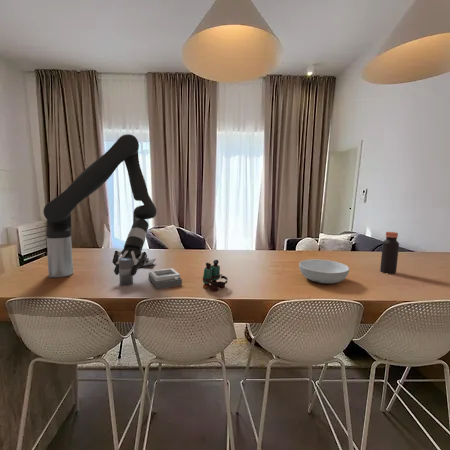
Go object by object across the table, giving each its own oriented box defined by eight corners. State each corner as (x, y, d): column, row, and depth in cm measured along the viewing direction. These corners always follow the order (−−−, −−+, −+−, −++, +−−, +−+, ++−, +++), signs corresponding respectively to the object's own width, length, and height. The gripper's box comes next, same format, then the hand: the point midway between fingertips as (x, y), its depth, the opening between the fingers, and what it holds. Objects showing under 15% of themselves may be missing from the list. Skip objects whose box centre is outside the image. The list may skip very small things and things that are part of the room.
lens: (120, 286, 108) (119, 261, 106) (118, 282, 112) (117, 258, 111) (134, 284, 110) (134, 259, 109) (132, 280, 115) (131, 256, 114)
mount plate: (157, 289, 105) (157, 279, 105) (148, 278, 117) (148, 269, 117) (181, 285, 110) (181, 275, 110) (170, 275, 122) (170, 266, 122)
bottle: (396, 272, 135) (400, 232, 132) (395, 275, 129) (400, 234, 126) (380, 269, 138) (384, 231, 136) (379, 272, 133) (383, 232, 130)
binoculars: (219, 269, 100) (200, 262, 106) (216, 295, 102) (198, 287, 108) (234, 264, 107) (215, 257, 113) (231, 289, 109) (213, 281, 115)
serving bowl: (289, 275, 126) (289, 261, 125) (325, 271, 134) (326, 257, 133) (319, 291, 107) (320, 274, 106) (359, 285, 114) (360, 269, 113)
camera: (126, 241, 140) (155, 241, 141) (126, 263, 142) (155, 263, 142) (120, 244, 132) (151, 245, 132) (121, 267, 133) (151, 268, 134)
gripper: (116, 234, 117) (103, 269, 107) (149, 236, 116) (138, 270, 106) (123, 244, 123) (110, 277, 113) (153, 245, 122) (144, 279, 112)
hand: (124, 274), depth 109 cm, fingers open, 6 cm apart
